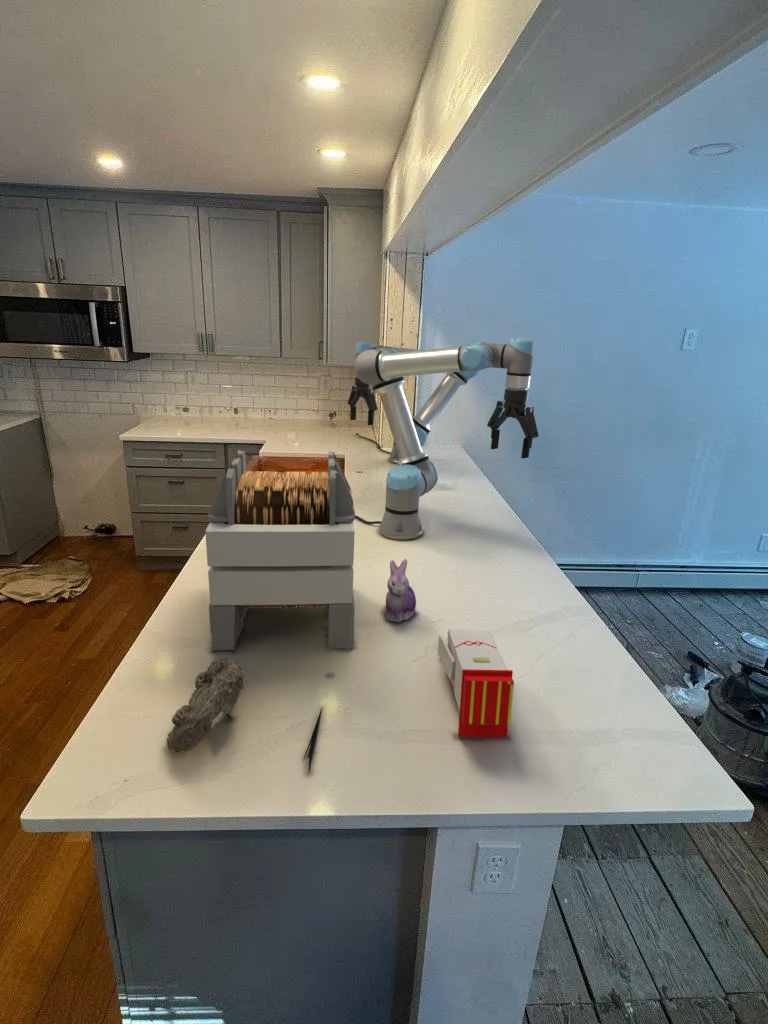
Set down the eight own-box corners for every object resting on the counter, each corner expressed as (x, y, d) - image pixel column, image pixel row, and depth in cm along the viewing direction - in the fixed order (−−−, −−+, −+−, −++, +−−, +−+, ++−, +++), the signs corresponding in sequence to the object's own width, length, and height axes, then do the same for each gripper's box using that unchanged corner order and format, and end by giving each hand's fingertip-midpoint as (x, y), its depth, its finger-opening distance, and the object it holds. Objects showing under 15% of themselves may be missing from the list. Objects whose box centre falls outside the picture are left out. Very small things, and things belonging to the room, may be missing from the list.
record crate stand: (231, 583, 159) (223, 441, 145) (347, 582, 163) (350, 443, 149) (209, 653, 127) (196, 479, 114) (354, 649, 131) (359, 481, 117)
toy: (488, 613, 130) (523, 677, 101) (484, 667, 133) (517, 744, 104) (435, 612, 130) (455, 676, 101) (432, 666, 133) (451, 743, 103)
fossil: (192, 660, 117) (244, 628, 112) (224, 691, 120) (276, 661, 115) (142, 746, 98) (202, 712, 93) (182, 779, 101) (242, 748, 96)
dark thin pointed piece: (331, 679, 122) (336, 673, 122) (307, 777, 96) (313, 769, 95) (324, 675, 122) (329, 669, 121) (298, 772, 95) (304, 764, 95)
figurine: (392, 627, 141) (395, 572, 136) (374, 608, 149) (376, 556, 144) (425, 619, 145) (429, 566, 140) (405, 601, 154) (408, 550, 149)
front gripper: (555, 393, 175) (546, 460, 182) (496, 383, 194) (490, 444, 201) (539, 394, 170) (530, 463, 178) (480, 384, 189) (474, 446, 197)
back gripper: (386, 379, 257) (384, 426, 264) (353, 373, 275) (352, 417, 282) (373, 380, 252) (371, 427, 259) (340, 374, 270) (340, 418, 277)
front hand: (509, 453), depth 189 cm, fingers open, 13 cm apart
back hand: (361, 422), depth 270 cm, fingers open, 13 cm apart
